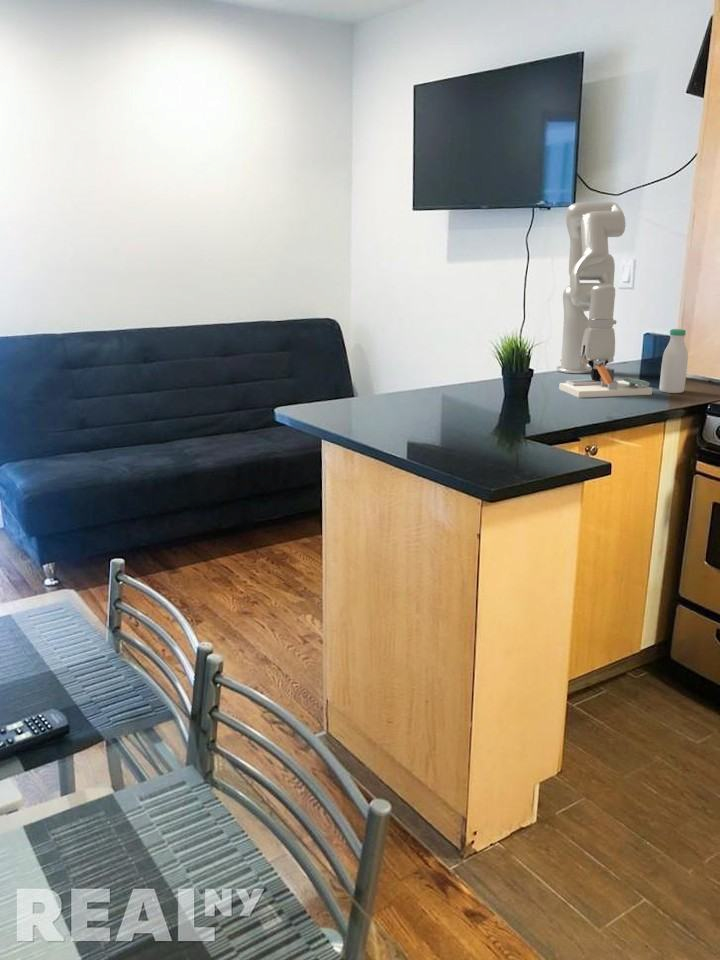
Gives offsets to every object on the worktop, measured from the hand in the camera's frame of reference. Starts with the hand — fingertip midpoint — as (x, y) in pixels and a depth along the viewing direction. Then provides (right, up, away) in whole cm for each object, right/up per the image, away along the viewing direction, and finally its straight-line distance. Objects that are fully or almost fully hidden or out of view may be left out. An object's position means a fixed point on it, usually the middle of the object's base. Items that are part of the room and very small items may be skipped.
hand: (596, 380), depth 269 cm
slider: (+4, -1, +1) cm, 4 cm away
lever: (+2, -2, -8) cm, 8 cm away
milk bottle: (+24, -4, -3) cm, 24 cm away
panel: (+2, -4, -3) cm, 6 cm away
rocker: (+11, -2, -7) cm, 13 cm away
